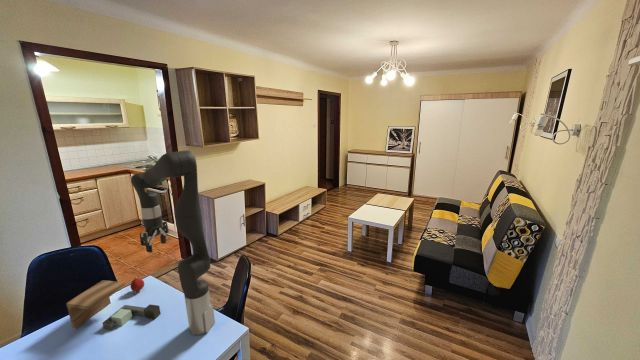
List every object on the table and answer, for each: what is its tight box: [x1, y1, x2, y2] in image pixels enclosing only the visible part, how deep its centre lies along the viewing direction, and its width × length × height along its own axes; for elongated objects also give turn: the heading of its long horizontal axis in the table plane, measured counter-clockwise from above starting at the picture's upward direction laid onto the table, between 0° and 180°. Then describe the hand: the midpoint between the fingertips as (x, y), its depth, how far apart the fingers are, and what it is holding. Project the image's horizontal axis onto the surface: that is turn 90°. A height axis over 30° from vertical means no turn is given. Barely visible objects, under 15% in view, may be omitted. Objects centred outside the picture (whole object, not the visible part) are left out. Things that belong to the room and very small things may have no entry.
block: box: [111, 308, 133, 327], centre depth 116 cm, size 5×5×4 cm
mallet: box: [101, 304, 161, 331], centre depth 116 cm, size 18×12×4 cm
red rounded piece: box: [130, 276, 145, 292], centre depth 135 cm, size 6×6×8 cm
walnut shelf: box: [65, 279, 126, 330], centre depth 117 cm, size 12×16×12 cm
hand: (157, 247), depth 124 cm, fingers open, 8 cm apart
